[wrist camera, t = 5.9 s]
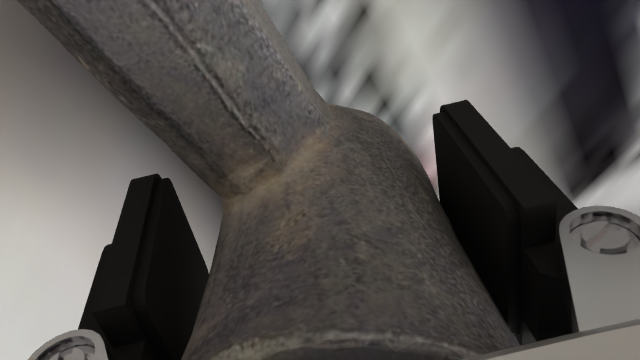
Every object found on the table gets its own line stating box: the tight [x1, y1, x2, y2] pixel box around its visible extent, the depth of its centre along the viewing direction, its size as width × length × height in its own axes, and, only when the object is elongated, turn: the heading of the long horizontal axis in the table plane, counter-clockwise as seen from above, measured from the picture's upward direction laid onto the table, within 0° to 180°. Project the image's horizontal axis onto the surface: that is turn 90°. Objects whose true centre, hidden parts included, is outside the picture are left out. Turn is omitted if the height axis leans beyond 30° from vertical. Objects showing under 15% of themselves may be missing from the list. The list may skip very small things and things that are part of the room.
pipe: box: [17, 0, 520, 360], centre depth 10 cm, size 6×13×8 cm, turn 33°
